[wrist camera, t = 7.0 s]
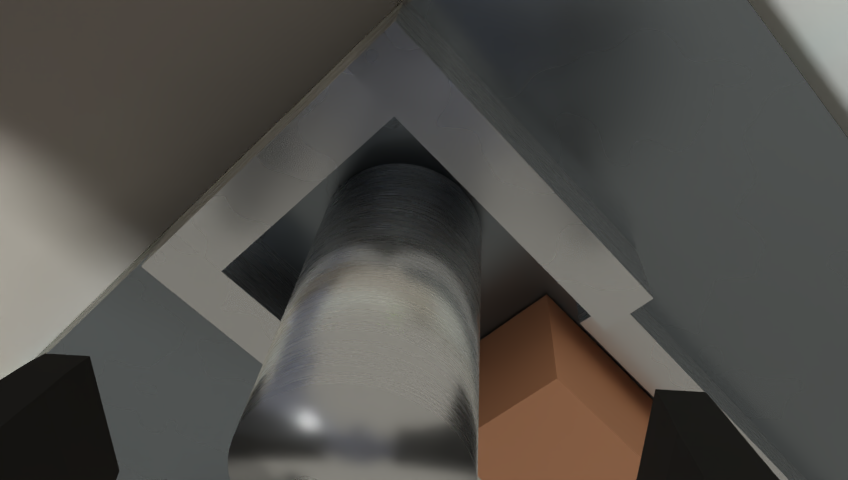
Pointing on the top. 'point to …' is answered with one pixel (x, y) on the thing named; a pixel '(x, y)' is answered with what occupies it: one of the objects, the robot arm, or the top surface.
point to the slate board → (527, 219)
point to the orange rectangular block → (555, 403)
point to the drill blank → (375, 342)
